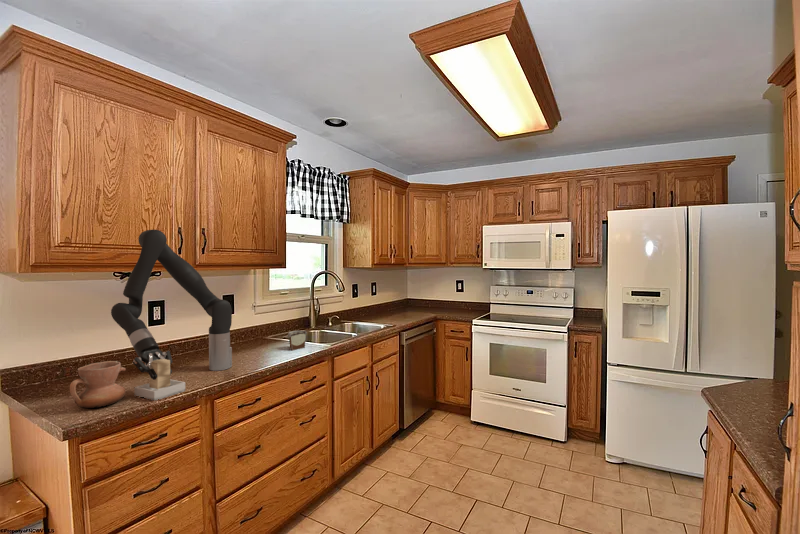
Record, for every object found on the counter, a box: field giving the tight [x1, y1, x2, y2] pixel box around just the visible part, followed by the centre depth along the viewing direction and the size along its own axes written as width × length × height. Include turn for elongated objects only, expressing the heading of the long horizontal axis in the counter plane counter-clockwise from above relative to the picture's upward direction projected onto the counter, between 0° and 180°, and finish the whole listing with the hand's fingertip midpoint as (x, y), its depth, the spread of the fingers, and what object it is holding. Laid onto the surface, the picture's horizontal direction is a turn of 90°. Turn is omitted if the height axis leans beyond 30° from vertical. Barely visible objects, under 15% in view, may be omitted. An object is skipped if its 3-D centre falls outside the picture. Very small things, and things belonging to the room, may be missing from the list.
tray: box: [134, 378, 186, 402], centre depth 152 cm, size 12×12×4 cm
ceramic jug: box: [69, 360, 127, 409], centre depth 140 cm, size 18×14×14 cm
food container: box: [287, 330, 308, 352], centre depth 230 cm, size 12×6×10 cm, turn 144°
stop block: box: [148, 359, 171, 389], centre depth 152 cm, size 5×5×10 cm
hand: (162, 376), depth 151 cm, fingers closed on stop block, 5 cm apart
